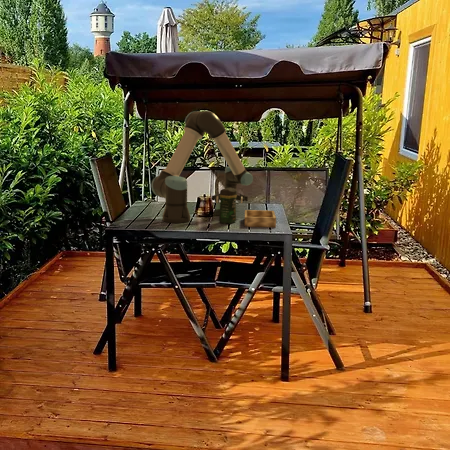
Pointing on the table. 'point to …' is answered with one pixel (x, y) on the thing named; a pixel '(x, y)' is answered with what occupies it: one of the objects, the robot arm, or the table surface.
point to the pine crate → (260, 218)
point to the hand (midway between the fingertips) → (229, 200)
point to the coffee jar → (228, 205)
